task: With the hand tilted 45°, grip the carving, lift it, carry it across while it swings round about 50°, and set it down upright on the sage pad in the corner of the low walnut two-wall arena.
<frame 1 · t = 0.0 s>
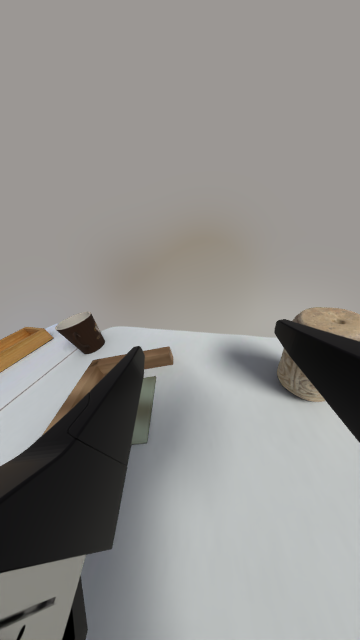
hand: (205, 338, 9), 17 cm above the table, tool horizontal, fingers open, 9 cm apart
carving: (301, 383, 20), on the table
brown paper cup: (92, 350, 39), on the table
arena: (124, 407, 23), on the table
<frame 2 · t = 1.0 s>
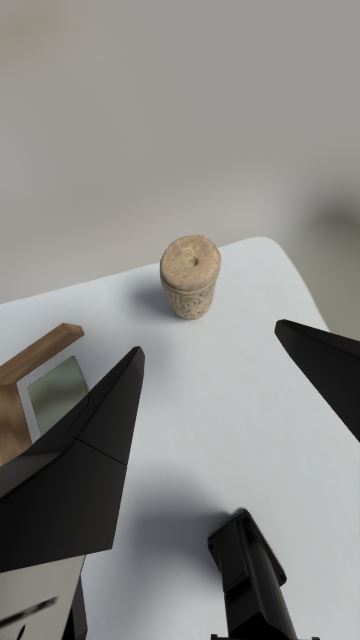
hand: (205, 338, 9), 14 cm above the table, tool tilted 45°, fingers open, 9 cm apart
carving: (193, 303, 24), on the table
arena: (60, 396, 23), on the table
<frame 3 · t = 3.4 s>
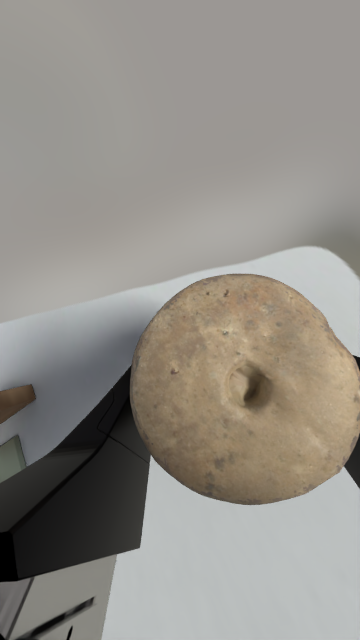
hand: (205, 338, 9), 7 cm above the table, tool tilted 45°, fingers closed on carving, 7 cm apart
carving: (205, 354, 15), on the table, touching gripper
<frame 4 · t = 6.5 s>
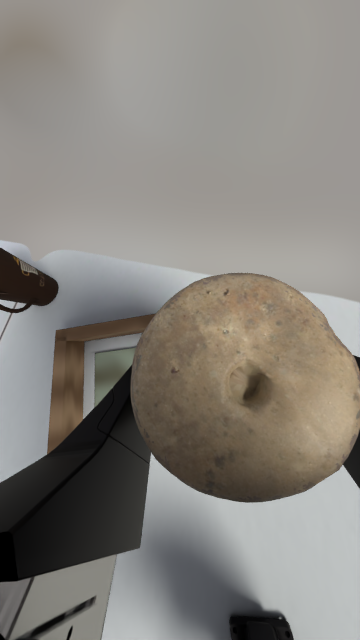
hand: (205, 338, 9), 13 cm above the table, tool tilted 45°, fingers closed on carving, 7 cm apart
carving: (205, 354, 15), point 6 cm above the table, touching gripper
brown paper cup: (45, 298, 28), on the table
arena: (123, 379, 22), on the table
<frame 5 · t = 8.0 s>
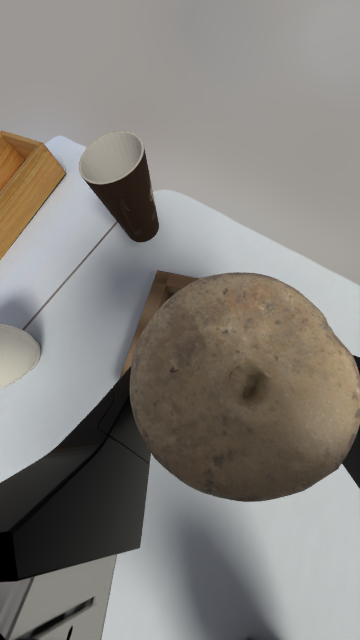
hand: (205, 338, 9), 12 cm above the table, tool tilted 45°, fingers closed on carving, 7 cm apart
lidded jar: (27, 355, 24), on the table
carving: (205, 354, 15), point 5 cm above the table, touching gripper
tray: (14, 216, 32), on the table
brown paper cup: (141, 235, 26), on the table
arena: (202, 350, 20), on the table
when the fingers open (8 cm above the table, at t = 9.2 s): carving drops 1 cm, resting on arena.
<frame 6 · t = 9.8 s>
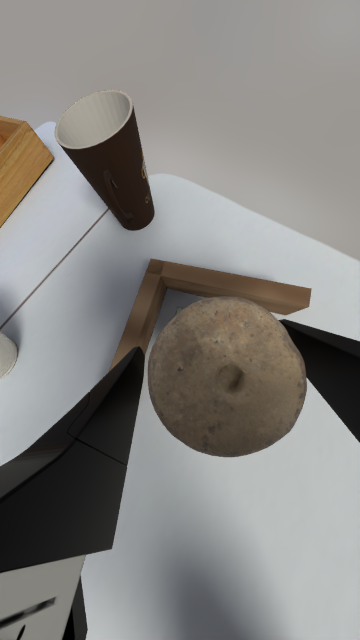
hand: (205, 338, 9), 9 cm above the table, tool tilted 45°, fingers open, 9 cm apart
lidded jar: (2, 358, 21), on the table
carving: (204, 355, 16), resting on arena
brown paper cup: (135, 223, 23), on the table
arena: (203, 353, 17), on the table
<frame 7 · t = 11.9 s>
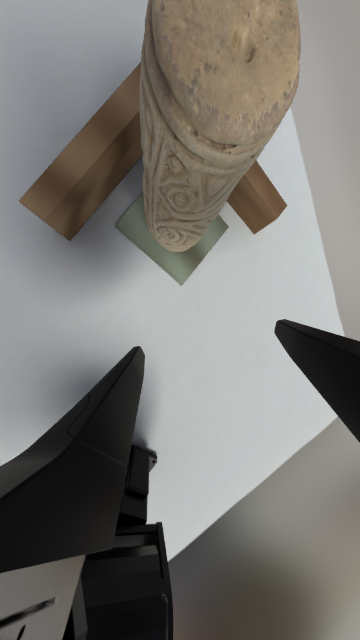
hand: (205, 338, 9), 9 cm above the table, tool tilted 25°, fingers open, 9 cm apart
carving: (175, 228, 16), resting on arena
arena: (176, 228, 16), on the table
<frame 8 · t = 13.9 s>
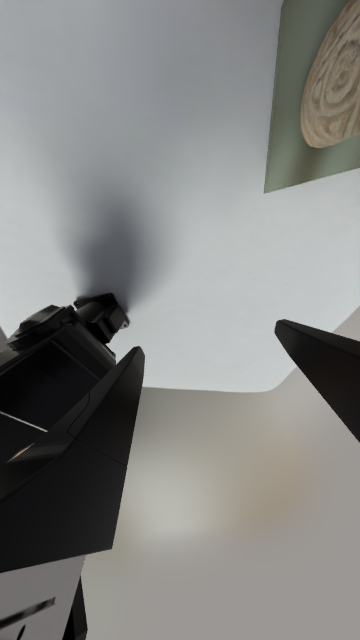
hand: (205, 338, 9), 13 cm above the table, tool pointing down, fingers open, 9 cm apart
carving: (329, 101, 11), resting on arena
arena: (329, 102, 11), on the table
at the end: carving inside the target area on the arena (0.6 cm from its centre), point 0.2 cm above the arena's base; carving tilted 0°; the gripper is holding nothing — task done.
